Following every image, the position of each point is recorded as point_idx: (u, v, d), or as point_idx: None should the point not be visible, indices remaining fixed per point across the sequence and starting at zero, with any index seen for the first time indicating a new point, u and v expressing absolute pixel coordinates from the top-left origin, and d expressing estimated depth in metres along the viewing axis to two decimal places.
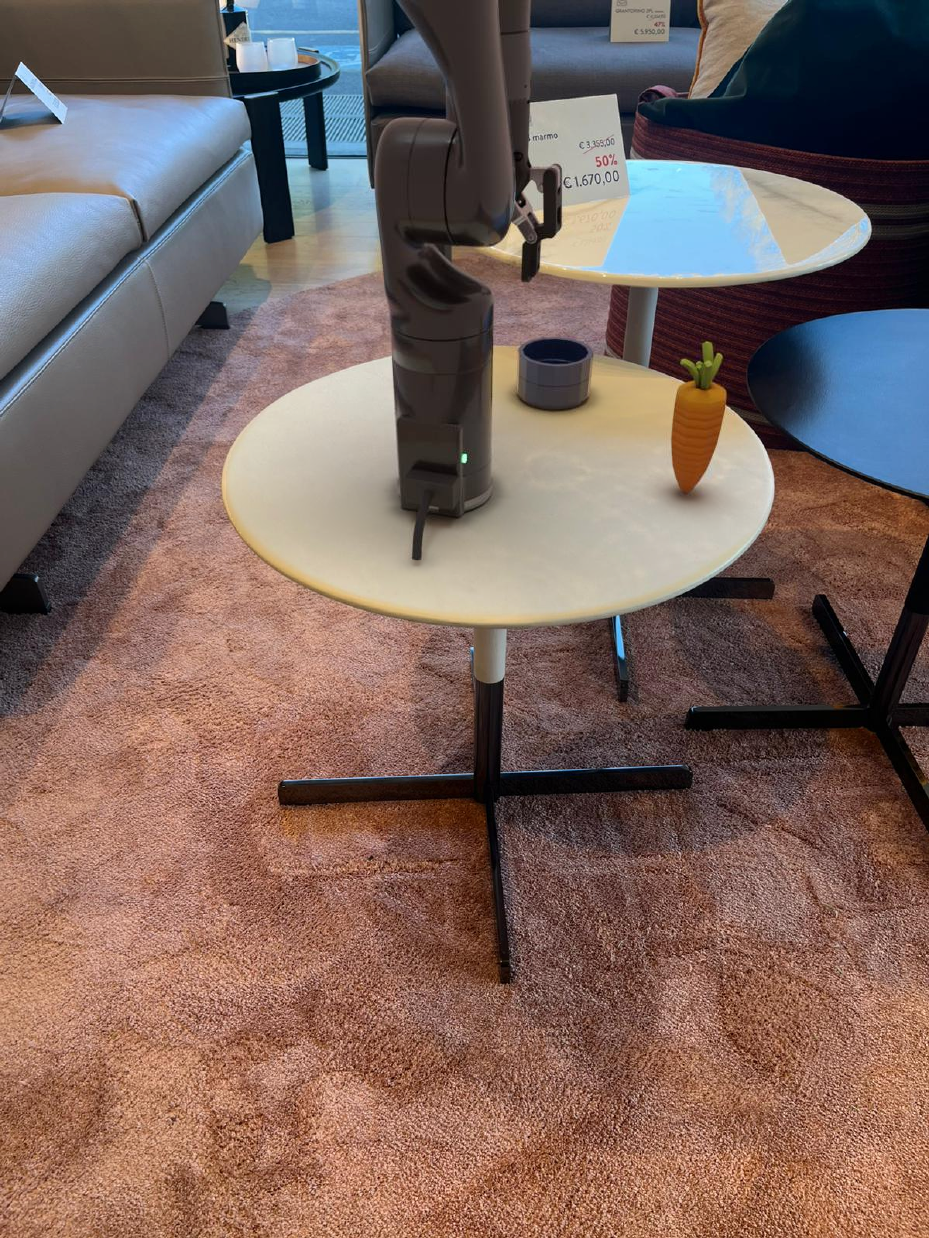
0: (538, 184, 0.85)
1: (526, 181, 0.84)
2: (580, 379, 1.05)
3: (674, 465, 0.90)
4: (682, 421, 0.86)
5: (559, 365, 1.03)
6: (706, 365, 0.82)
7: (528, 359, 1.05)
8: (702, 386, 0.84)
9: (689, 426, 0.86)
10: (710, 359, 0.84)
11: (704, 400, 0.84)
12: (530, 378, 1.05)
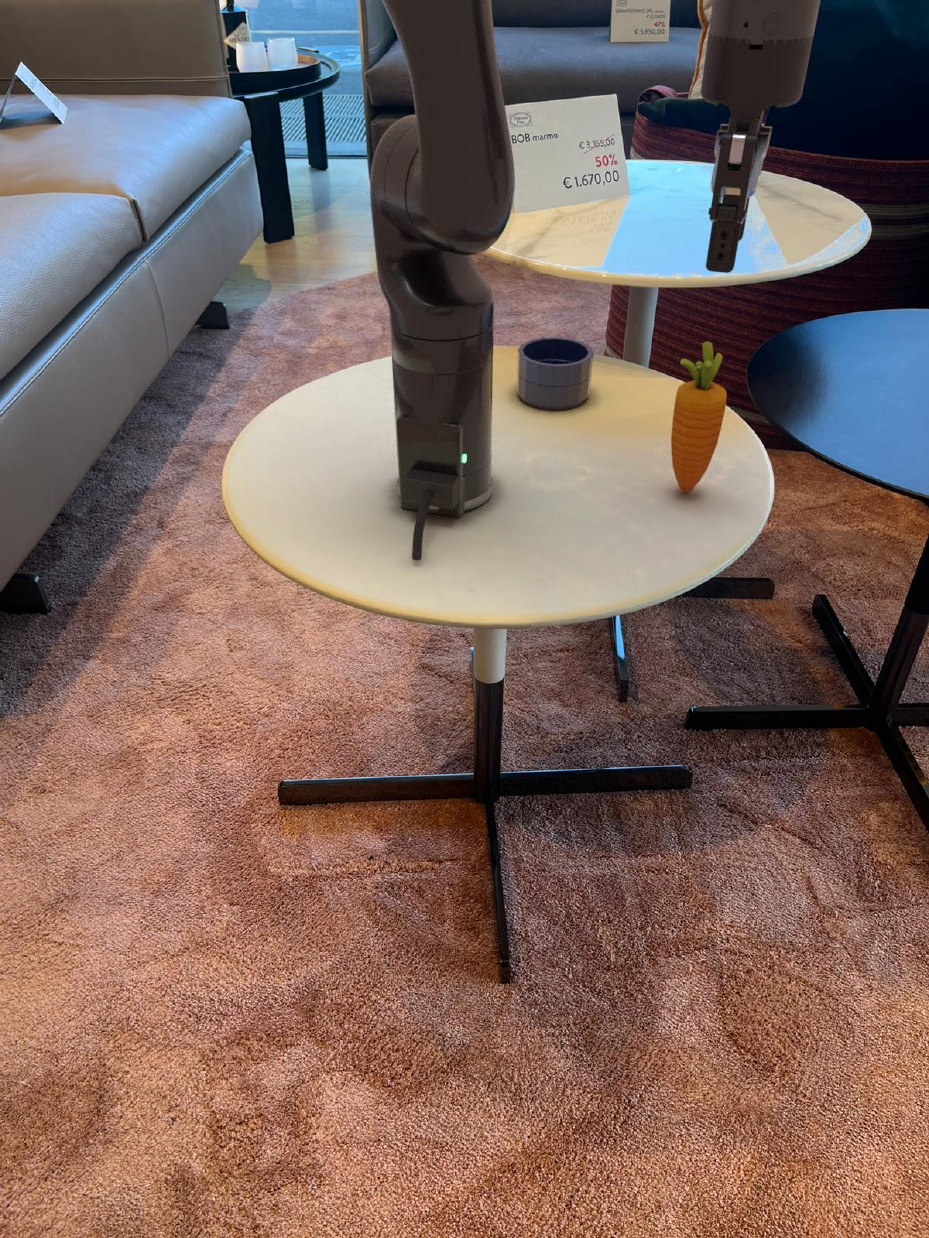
0: None
1: None
2: (580, 379, 1.05)
3: (674, 465, 0.90)
4: (682, 421, 0.86)
5: (559, 365, 1.03)
6: (706, 365, 0.82)
7: (528, 359, 1.05)
8: (702, 386, 0.84)
9: (689, 425, 0.86)
10: (710, 359, 0.84)
11: (704, 400, 0.84)
12: (530, 378, 1.05)
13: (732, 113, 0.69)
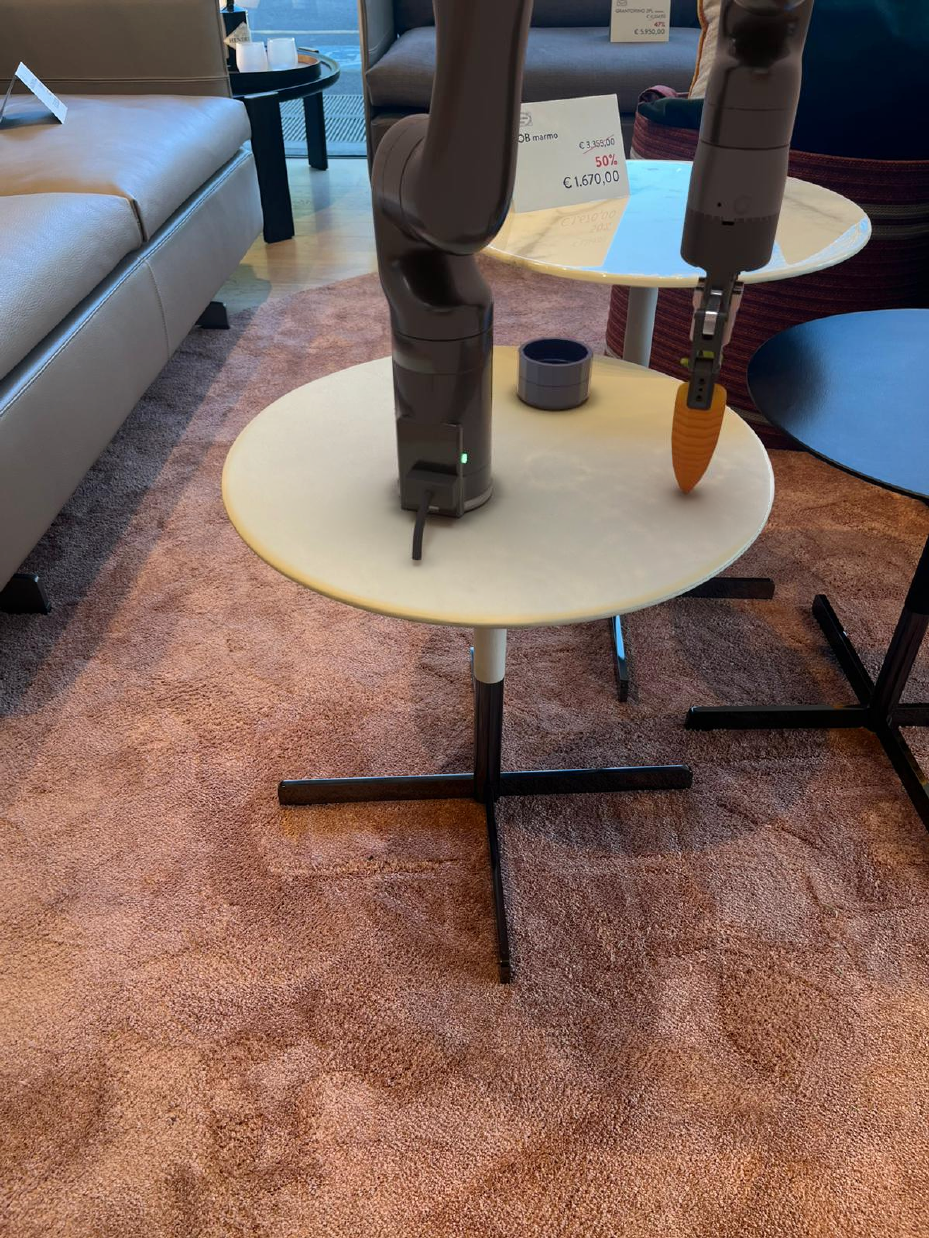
0: None
1: (704, 302, 0.77)
2: (580, 379, 1.05)
3: (674, 465, 0.90)
4: (683, 421, 0.86)
5: (559, 365, 1.03)
6: None
7: (528, 359, 1.05)
8: None
9: (689, 425, 0.86)
10: None
11: None
12: (530, 378, 1.05)
13: (708, 276, 0.76)
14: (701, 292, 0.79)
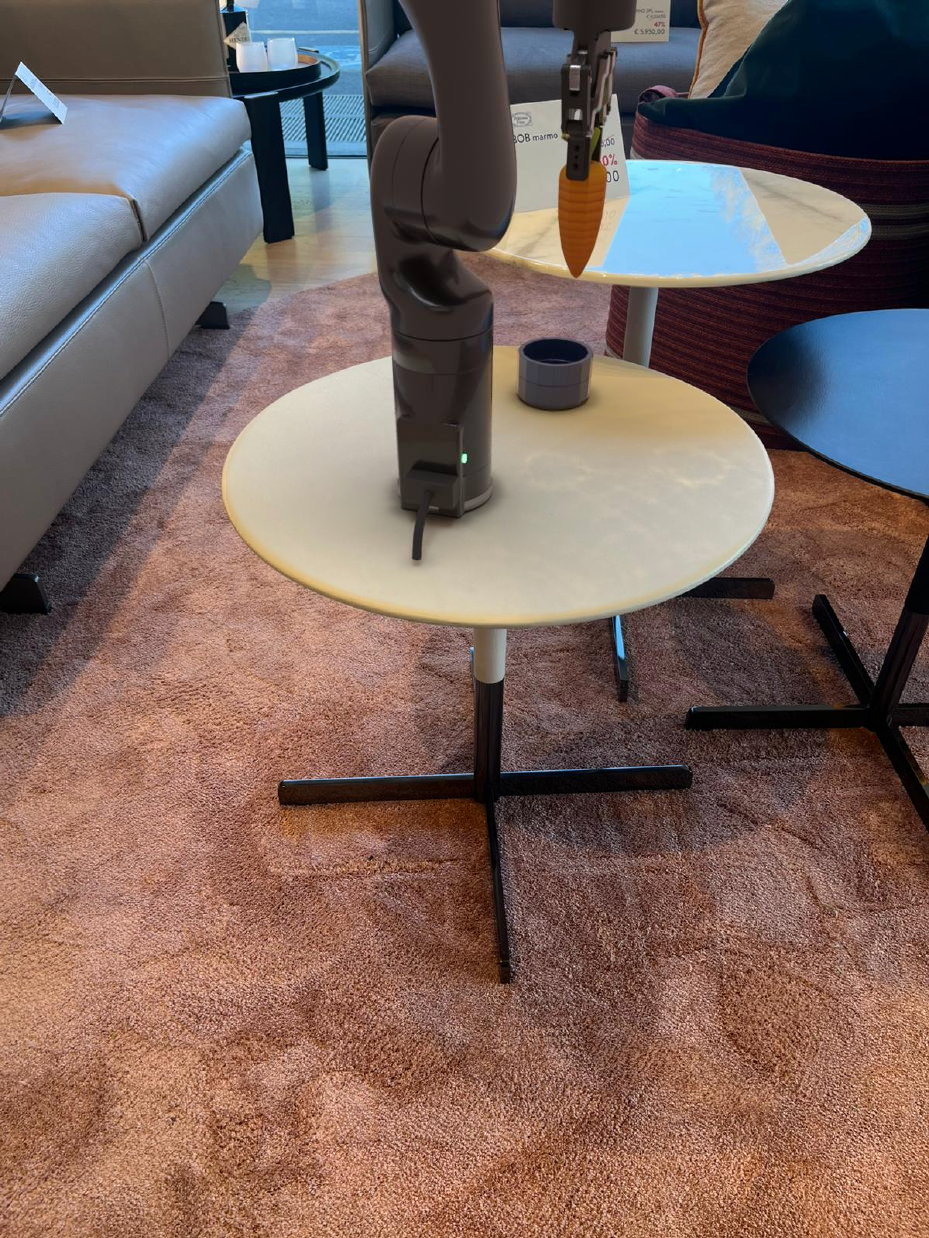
0: None
1: (572, 63, 0.83)
2: (580, 379, 1.05)
3: (563, 247, 0.96)
4: (566, 197, 0.92)
5: (559, 365, 1.03)
6: None
7: (528, 359, 1.05)
8: None
9: (571, 200, 0.92)
10: None
11: None
12: (530, 378, 1.05)
13: (574, 36, 0.83)
14: None
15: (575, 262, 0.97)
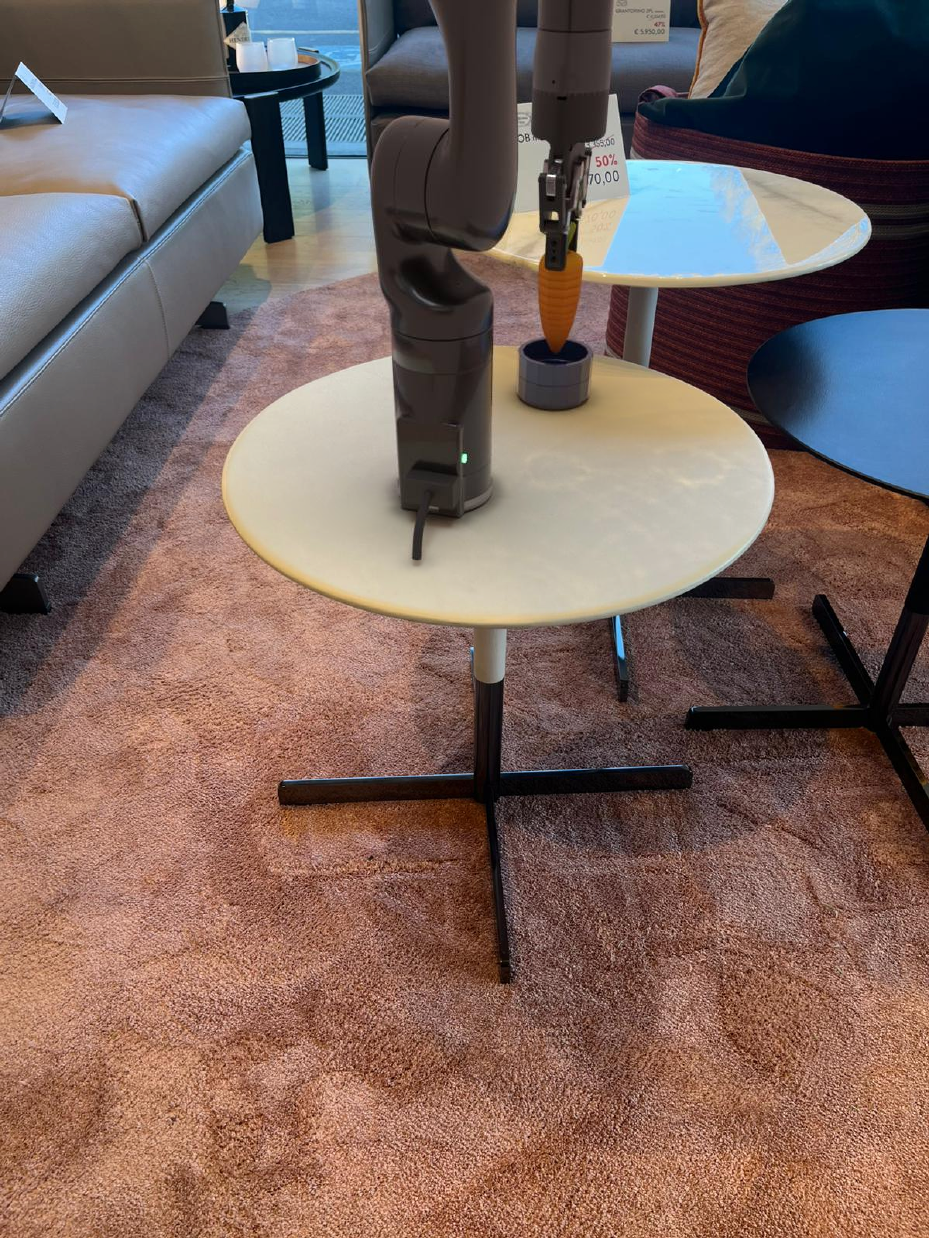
0: None
1: (549, 170, 0.91)
2: (580, 379, 1.05)
3: (543, 326, 1.04)
4: (545, 283, 1.00)
5: (559, 365, 1.03)
6: None
7: (528, 359, 1.05)
8: None
9: (550, 287, 1.00)
10: None
11: None
12: (530, 378, 1.05)
13: (550, 146, 0.91)
14: None
15: (554, 340, 1.05)
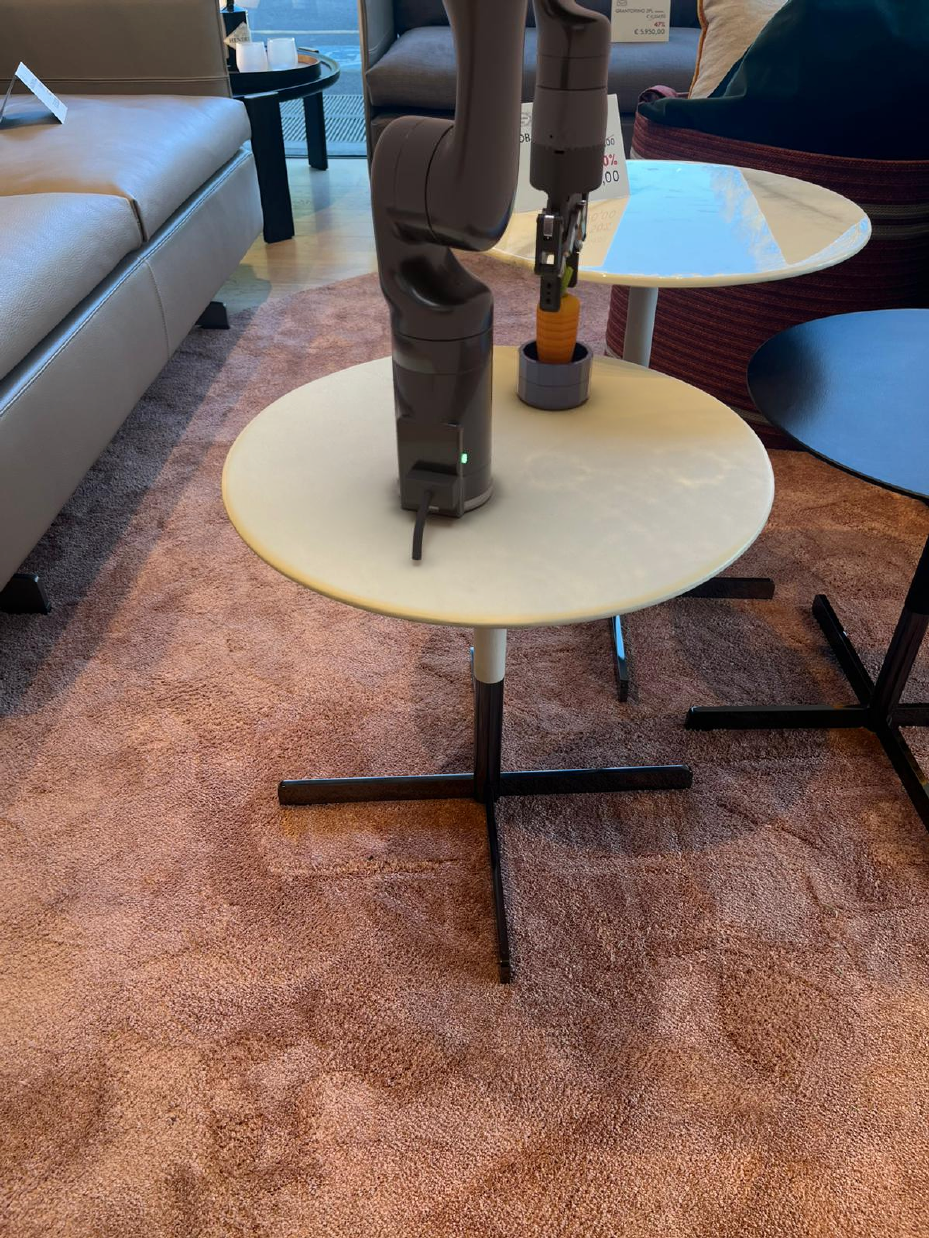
0: None
1: None
2: (580, 379, 1.05)
3: None
4: (543, 325, 1.03)
5: (559, 365, 1.03)
6: None
7: (528, 359, 1.05)
8: None
9: (547, 329, 1.03)
10: None
11: None
12: (530, 378, 1.05)
13: (548, 197, 0.94)
14: None
15: None
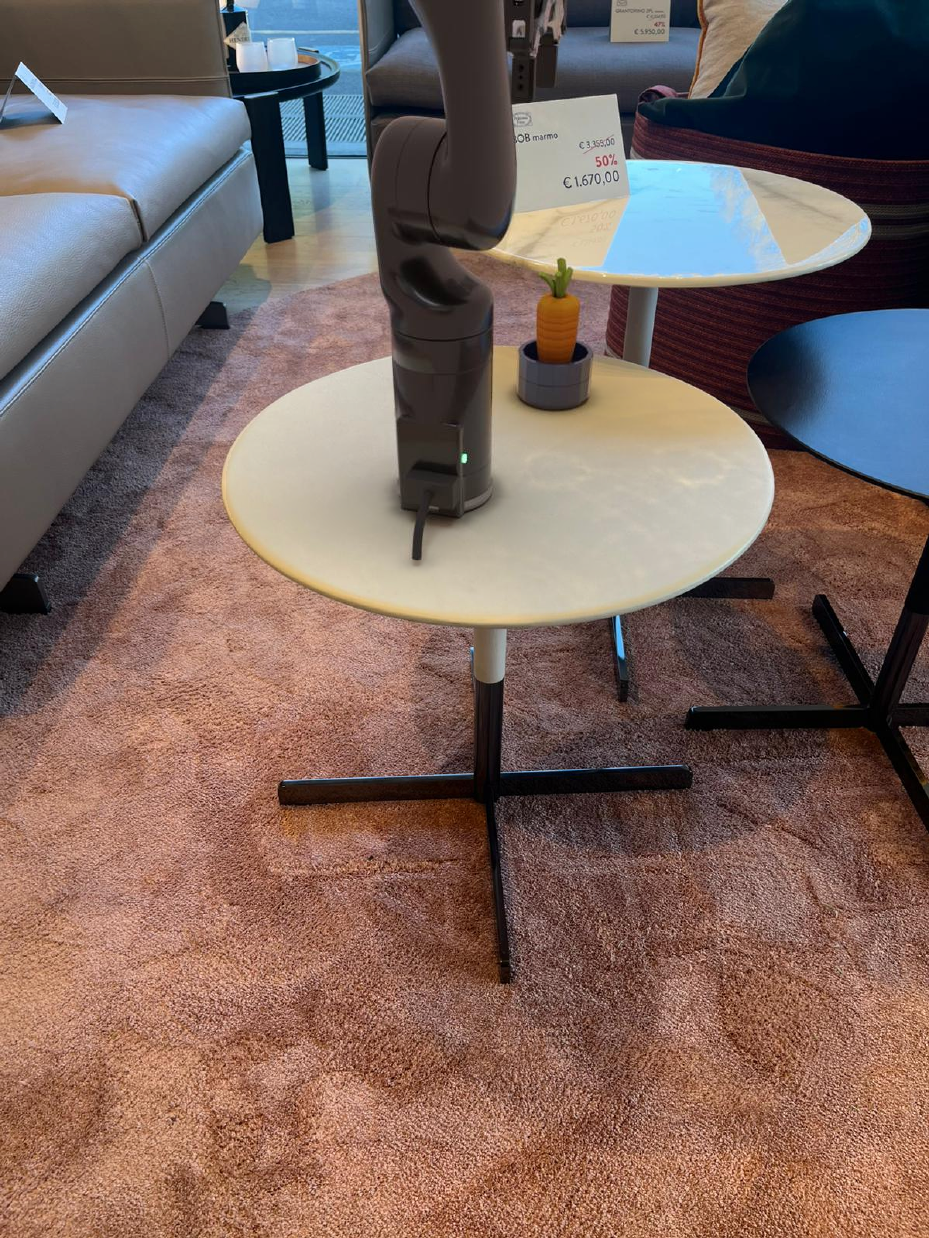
0: None
1: None
2: (580, 379, 1.05)
3: None
4: (543, 326, 1.03)
5: (559, 365, 1.03)
6: (556, 275, 0.99)
7: (528, 359, 1.05)
8: (557, 295, 1.02)
9: (547, 329, 1.03)
10: (563, 272, 1.02)
11: (558, 306, 1.01)
12: (530, 378, 1.05)
13: None
14: None
15: None
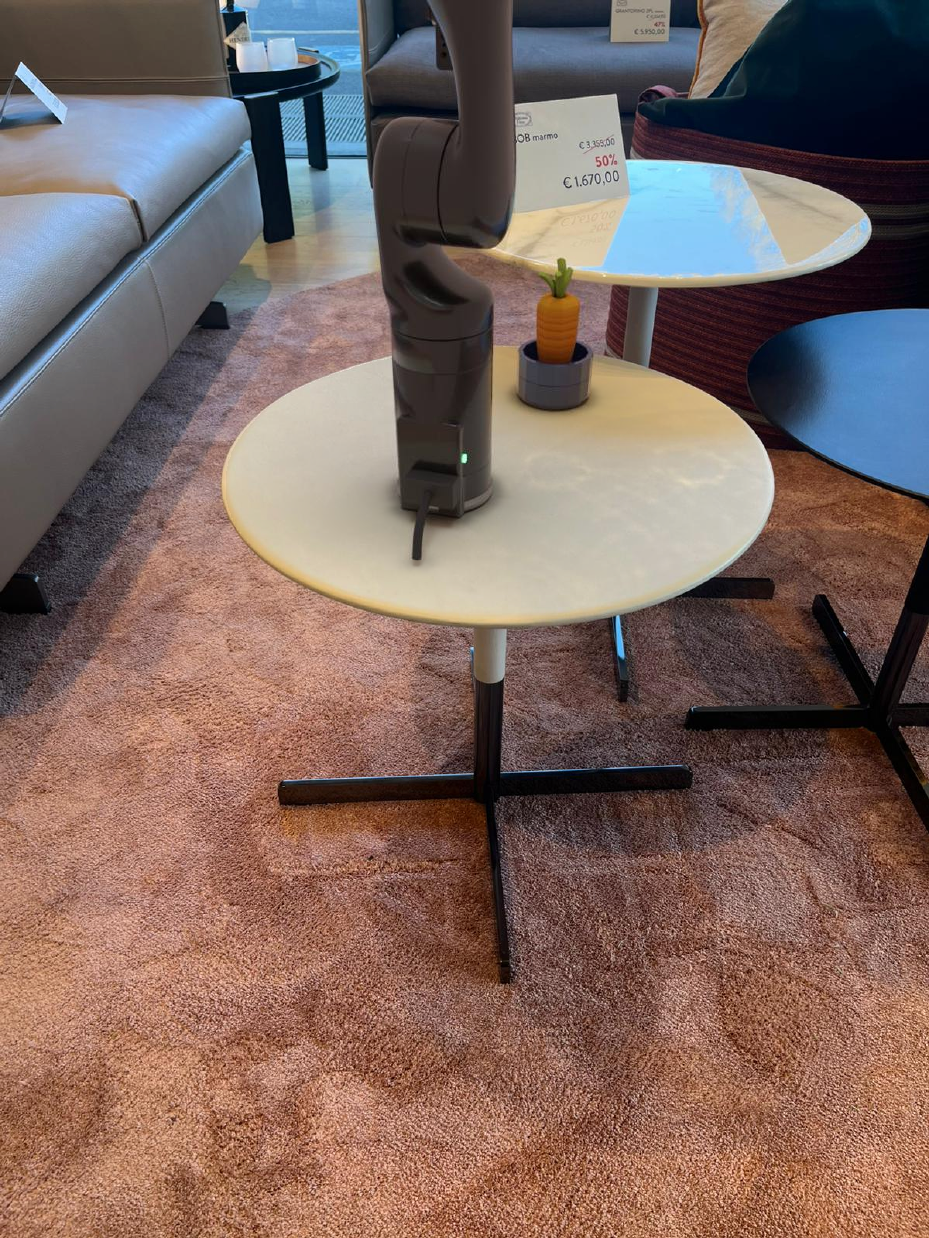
0: None
1: None
2: (580, 379, 1.05)
3: None
4: (543, 326, 1.03)
5: (559, 365, 1.03)
6: (556, 275, 0.99)
7: (528, 359, 1.05)
8: (557, 295, 1.02)
9: (547, 329, 1.03)
10: (563, 272, 1.02)
11: (558, 306, 1.01)
12: (530, 378, 1.05)
13: None
14: None
15: None
